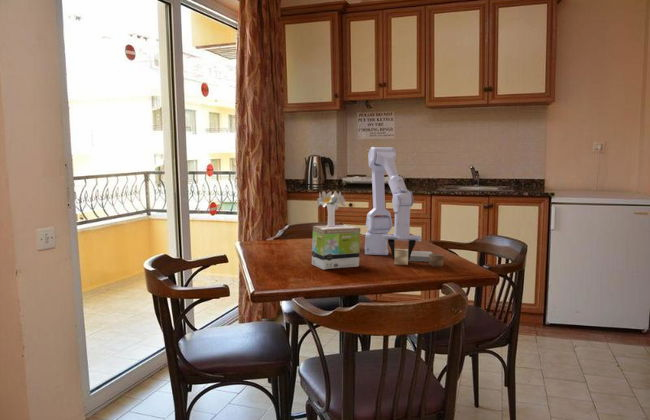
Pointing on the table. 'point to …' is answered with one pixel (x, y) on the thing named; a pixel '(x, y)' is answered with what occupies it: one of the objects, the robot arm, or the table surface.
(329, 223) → the flower vase
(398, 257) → the maple cube
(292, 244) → the table surface
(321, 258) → the tea box
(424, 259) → the plate
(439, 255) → the walnut block
